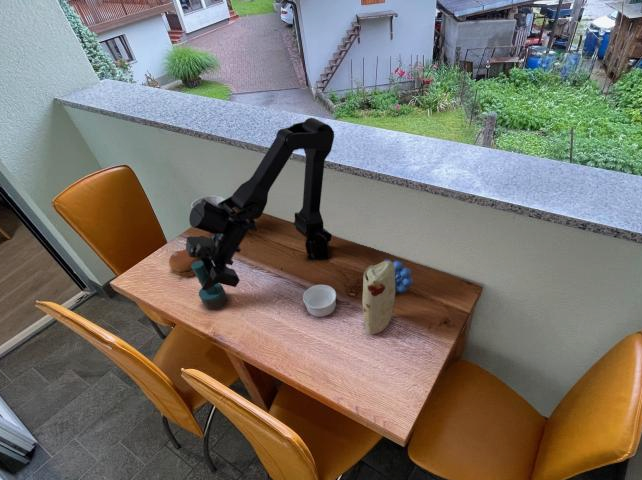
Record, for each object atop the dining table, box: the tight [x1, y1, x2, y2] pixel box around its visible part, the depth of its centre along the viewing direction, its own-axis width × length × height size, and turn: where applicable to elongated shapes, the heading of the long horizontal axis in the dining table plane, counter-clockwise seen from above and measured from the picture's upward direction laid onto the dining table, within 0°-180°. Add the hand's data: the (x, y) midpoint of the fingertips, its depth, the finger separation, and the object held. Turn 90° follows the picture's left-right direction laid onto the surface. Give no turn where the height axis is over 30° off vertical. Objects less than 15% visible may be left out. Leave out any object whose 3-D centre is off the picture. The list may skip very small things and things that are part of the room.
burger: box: [168, 248, 202, 278], centre depth 106 cm, size 10×9×5 cm
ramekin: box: [302, 284, 337, 318], centre depth 94 cm, size 9×9×4 cm
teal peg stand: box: [191, 261, 229, 311], centre depth 92 cm, size 6×6×14 cm
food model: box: [361, 260, 396, 336], centre depth 83 cm, size 10×7×20 cm
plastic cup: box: [190, 195, 226, 236], centre depth 115 cm, size 11×11×12 cm
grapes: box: [382, 258, 414, 294], centre depth 95 cm, size 12×7×12 cm, turn 59°
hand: (202, 286), depth 92 cm, fingers closed on teal peg stand, 3 cm apart
